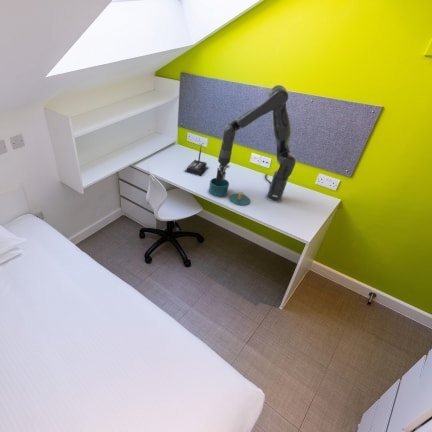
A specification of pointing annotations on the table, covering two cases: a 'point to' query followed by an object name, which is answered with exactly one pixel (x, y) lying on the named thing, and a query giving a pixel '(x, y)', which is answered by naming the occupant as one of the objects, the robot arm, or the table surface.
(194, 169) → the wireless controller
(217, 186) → the tin
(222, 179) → the block
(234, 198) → the lid
